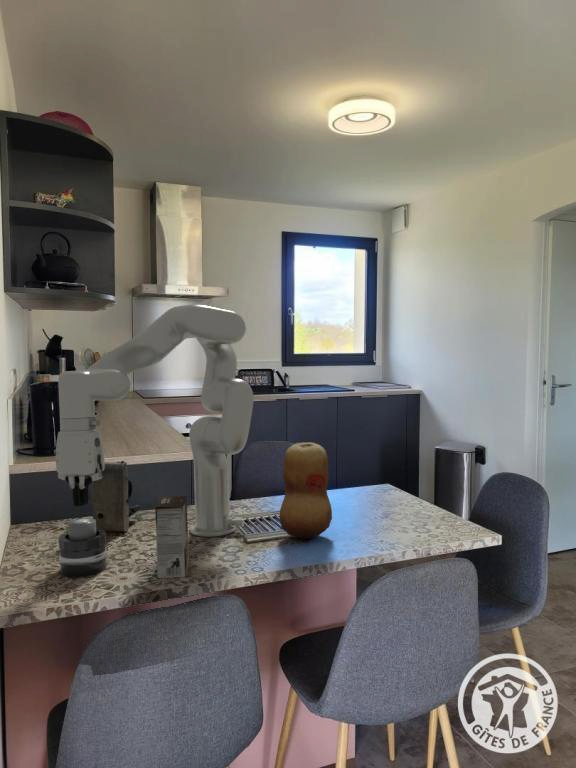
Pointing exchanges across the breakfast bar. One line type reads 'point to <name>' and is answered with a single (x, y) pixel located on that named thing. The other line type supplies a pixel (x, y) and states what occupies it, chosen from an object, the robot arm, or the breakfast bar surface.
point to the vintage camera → (113, 498)
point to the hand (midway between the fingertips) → (81, 504)
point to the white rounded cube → (82, 529)
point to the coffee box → (172, 536)
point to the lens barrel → (82, 555)
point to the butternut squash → (305, 491)
